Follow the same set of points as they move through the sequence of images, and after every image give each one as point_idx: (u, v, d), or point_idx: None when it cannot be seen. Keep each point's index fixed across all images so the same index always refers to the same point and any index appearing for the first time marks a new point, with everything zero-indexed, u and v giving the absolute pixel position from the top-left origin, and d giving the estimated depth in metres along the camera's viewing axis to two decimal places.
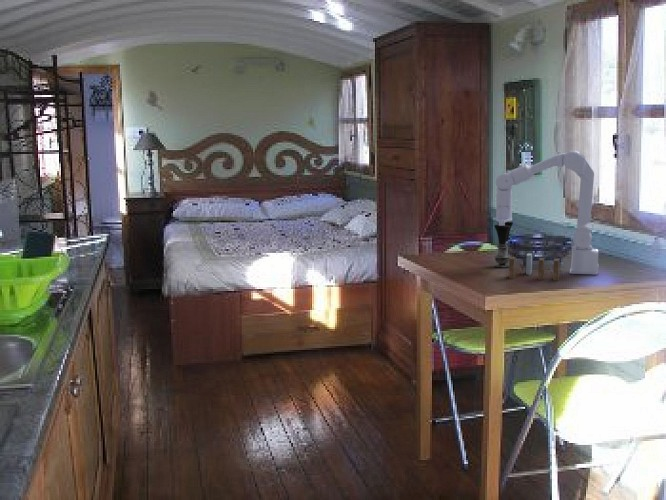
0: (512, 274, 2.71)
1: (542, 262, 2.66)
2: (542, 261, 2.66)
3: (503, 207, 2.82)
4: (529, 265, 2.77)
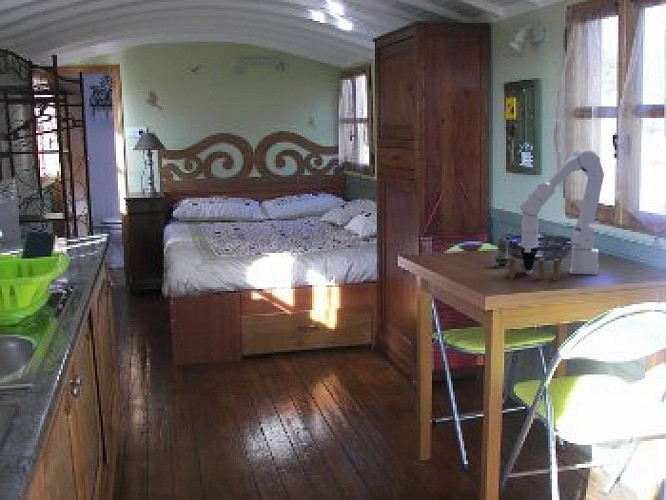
0: (512, 274, 2.71)
1: (542, 262, 2.66)
2: (542, 261, 2.66)
3: (529, 233, 2.75)
4: None
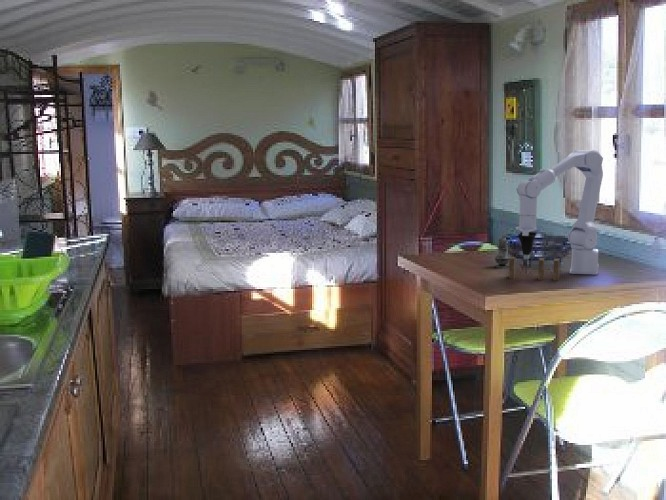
0: (512, 274, 2.71)
1: (542, 262, 2.66)
2: (542, 261, 2.66)
3: (527, 216, 2.66)
4: None
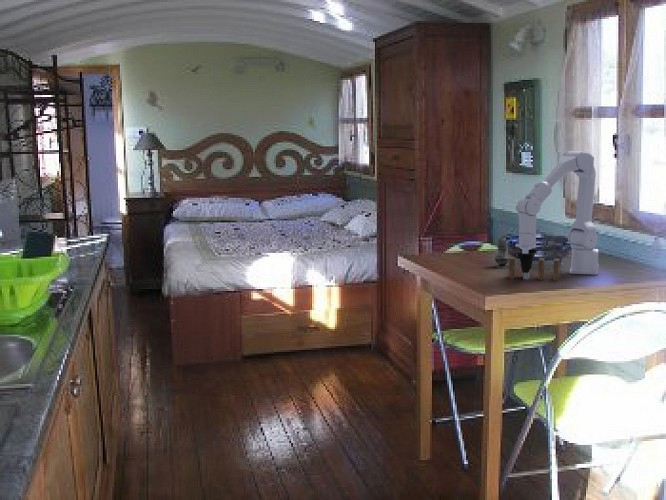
0: (512, 274, 2.71)
1: (542, 262, 2.66)
2: (542, 261, 2.66)
3: (527, 234, 2.66)
4: None
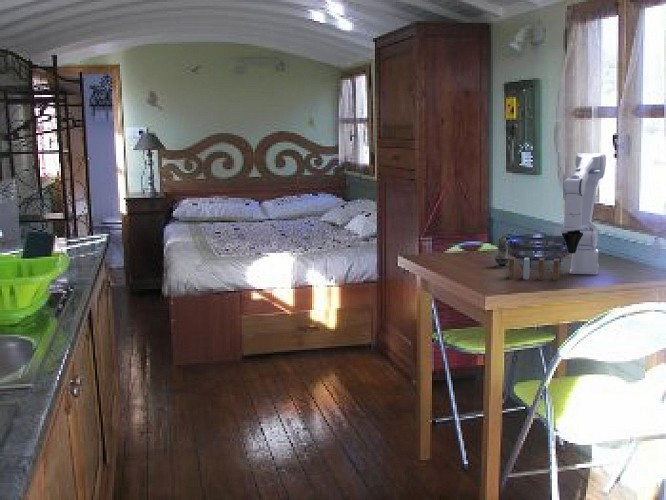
0: (512, 274, 2.71)
1: (542, 262, 2.66)
2: (542, 261, 2.66)
3: (567, 215, 2.61)
4: (526, 269, 2.69)
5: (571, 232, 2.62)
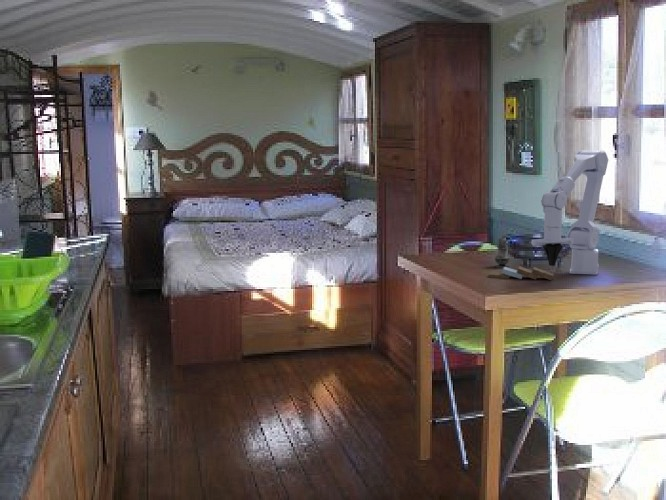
0: (504, 276, 2.72)
1: (520, 270, 2.69)
2: (519, 269, 2.69)
3: (545, 227, 2.65)
4: (512, 273, 2.70)
5: (549, 245, 2.65)
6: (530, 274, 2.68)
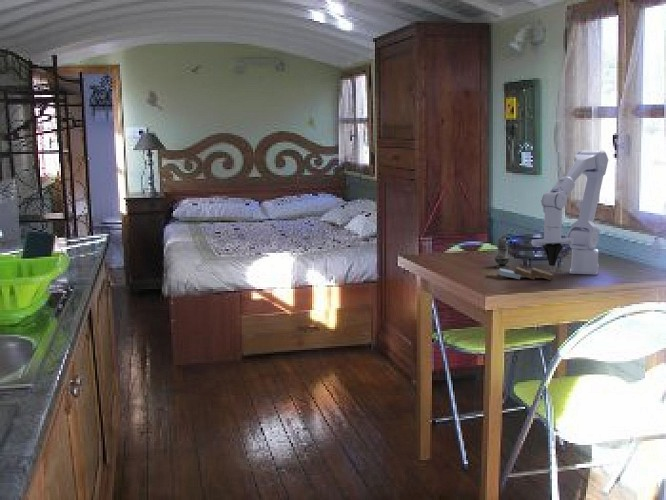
0: (502, 277, 2.71)
1: (518, 270, 2.69)
2: (517, 270, 2.69)
3: (545, 227, 2.65)
4: (511, 274, 2.69)
5: (549, 245, 2.65)
6: (528, 274, 2.68)
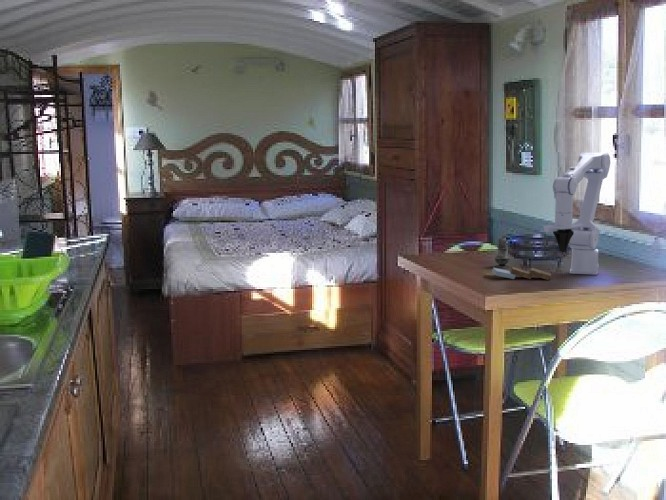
0: (500, 276, 2.72)
1: (514, 270, 2.69)
2: (513, 270, 2.69)
3: (557, 213, 2.63)
4: (506, 274, 2.69)
5: (561, 231, 2.63)
6: (525, 274, 2.69)
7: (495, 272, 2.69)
